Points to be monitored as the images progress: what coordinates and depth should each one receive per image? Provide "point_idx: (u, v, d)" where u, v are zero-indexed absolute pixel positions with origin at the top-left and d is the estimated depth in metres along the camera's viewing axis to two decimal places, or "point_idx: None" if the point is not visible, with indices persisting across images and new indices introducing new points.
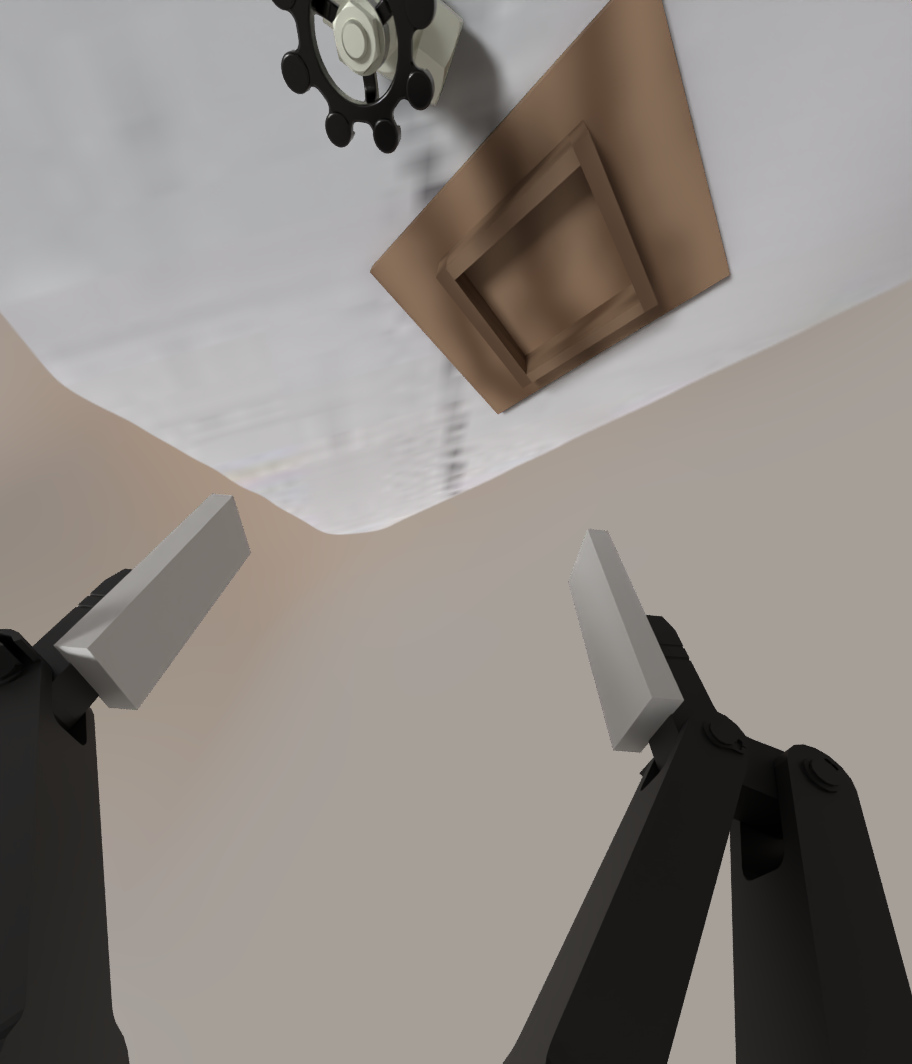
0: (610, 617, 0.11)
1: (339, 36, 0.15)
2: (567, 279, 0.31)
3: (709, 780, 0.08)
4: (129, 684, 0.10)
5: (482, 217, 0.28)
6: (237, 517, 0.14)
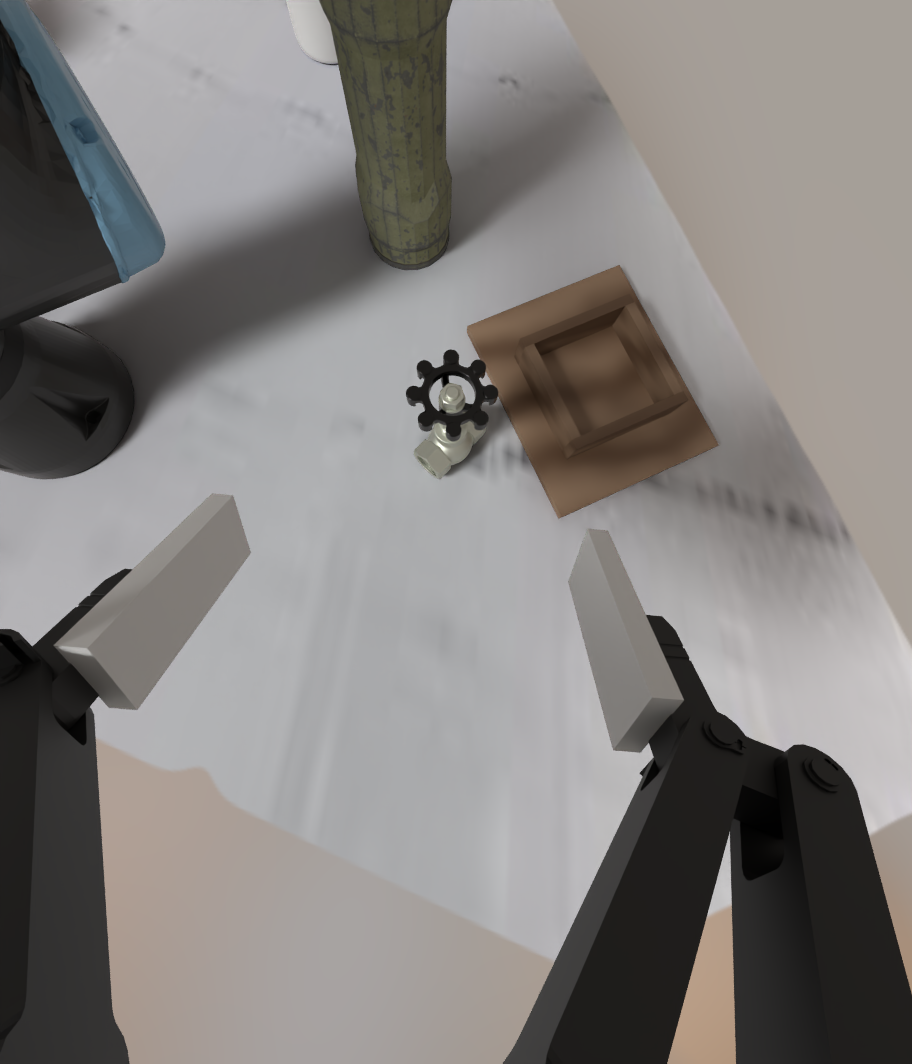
0: (610, 617, 0.11)
1: (448, 400, 0.28)
2: (599, 370, 0.40)
3: (709, 780, 0.08)
4: (129, 684, 0.10)
5: (546, 422, 0.39)
6: (237, 517, 0.14)
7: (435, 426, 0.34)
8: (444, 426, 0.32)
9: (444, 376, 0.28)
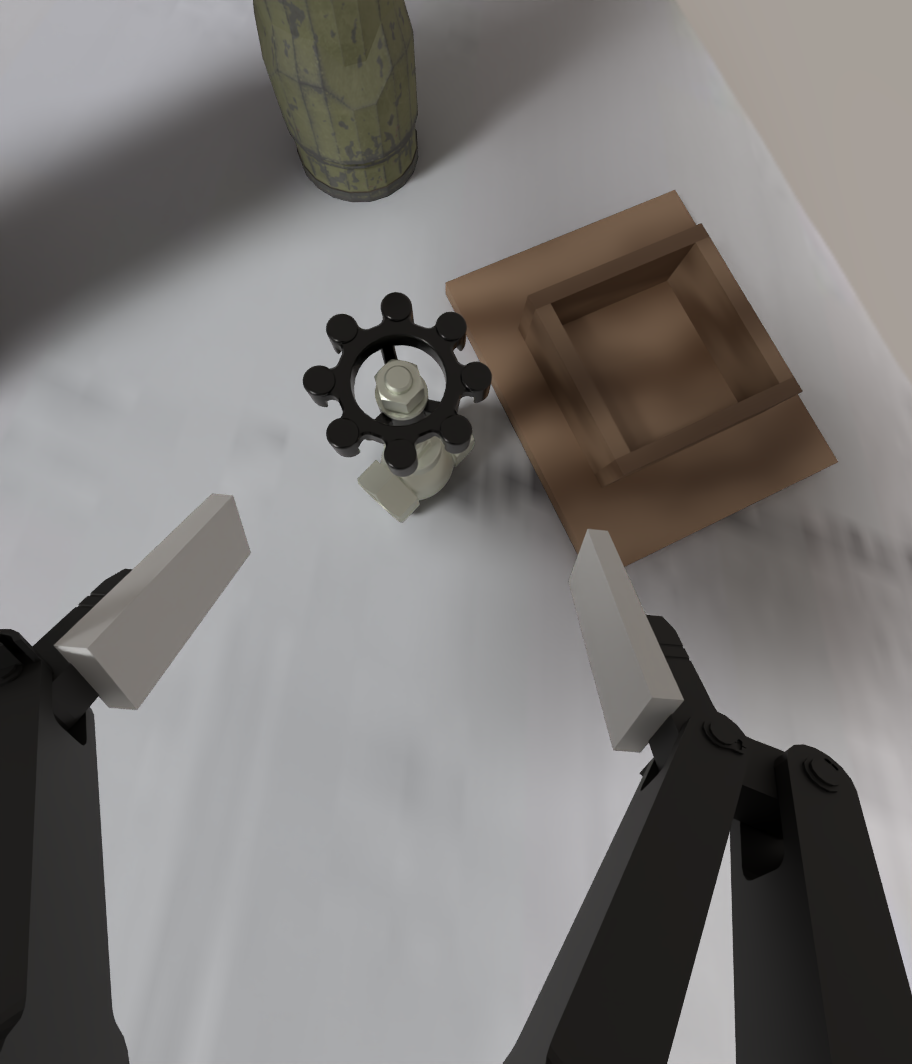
0: (610, 617, 0.11)
1: (391, 394, 0.14)
2: (650, 347, 0.26)
3: (709, 780, 0.08)
4: (129, 684, 0.10)
5: (570, 429, 0.25)
6: (237, 517, 0.14)
7: None
8: None
9: (384, 348, 0.14)
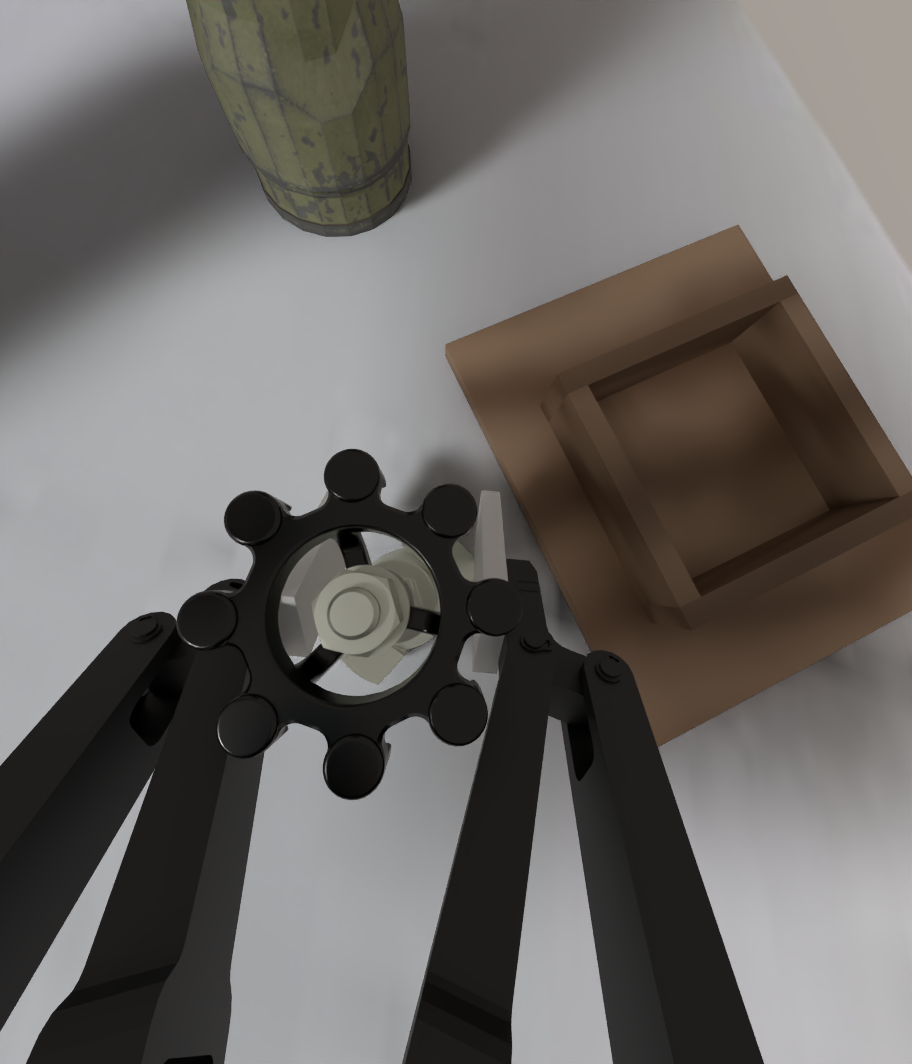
0: (480, 560, 0.13)
1: (339, 641, 0.07)
2: (711, 431, 0.20)
3: (529, 681, 0.09)
4: (307, 633, 0.12)
5: (609, 542, 0.19)
6: None
7: None
8: None
9: (334, 536, 0.08)
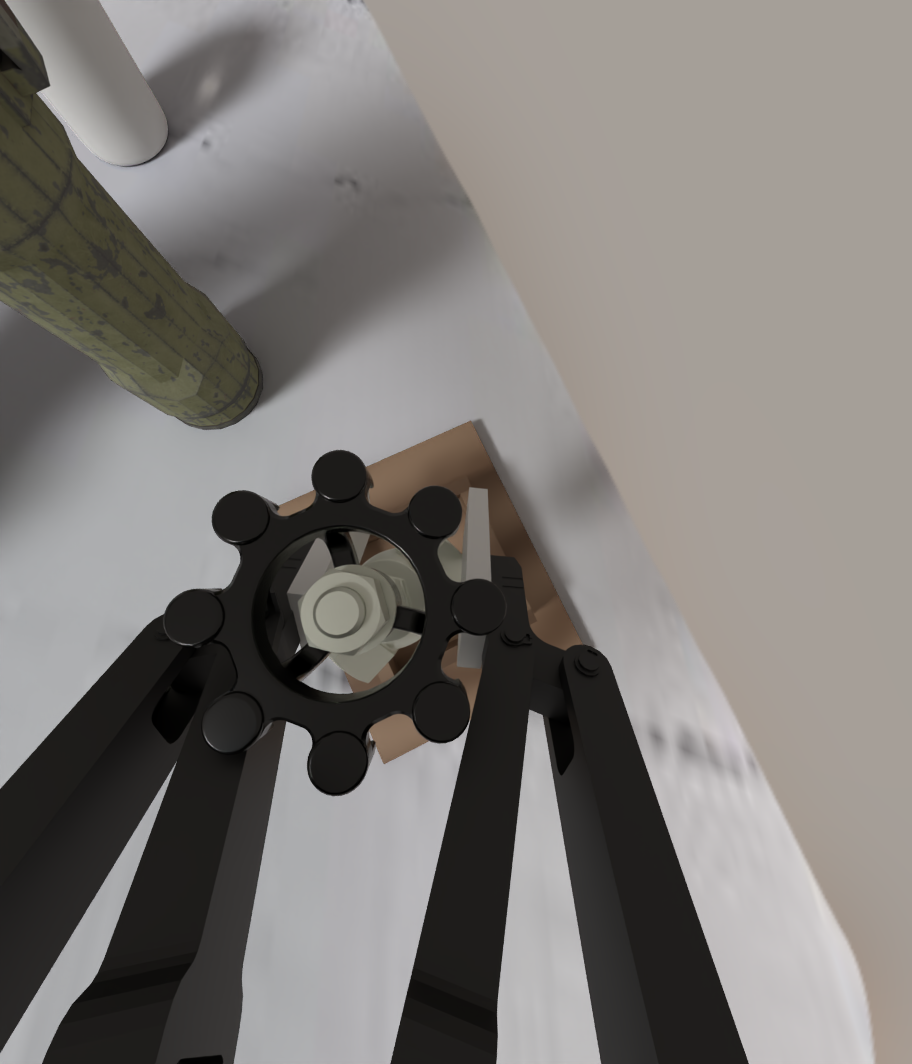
0: (465, 556, 0.13)
1: (325, 639, 0.08)
2: None
3: (510, 676, 0.09)
4: None
5: None
6: (368, 497, 0.16)
7: None
8: None
9: (321, 536, 0.08)
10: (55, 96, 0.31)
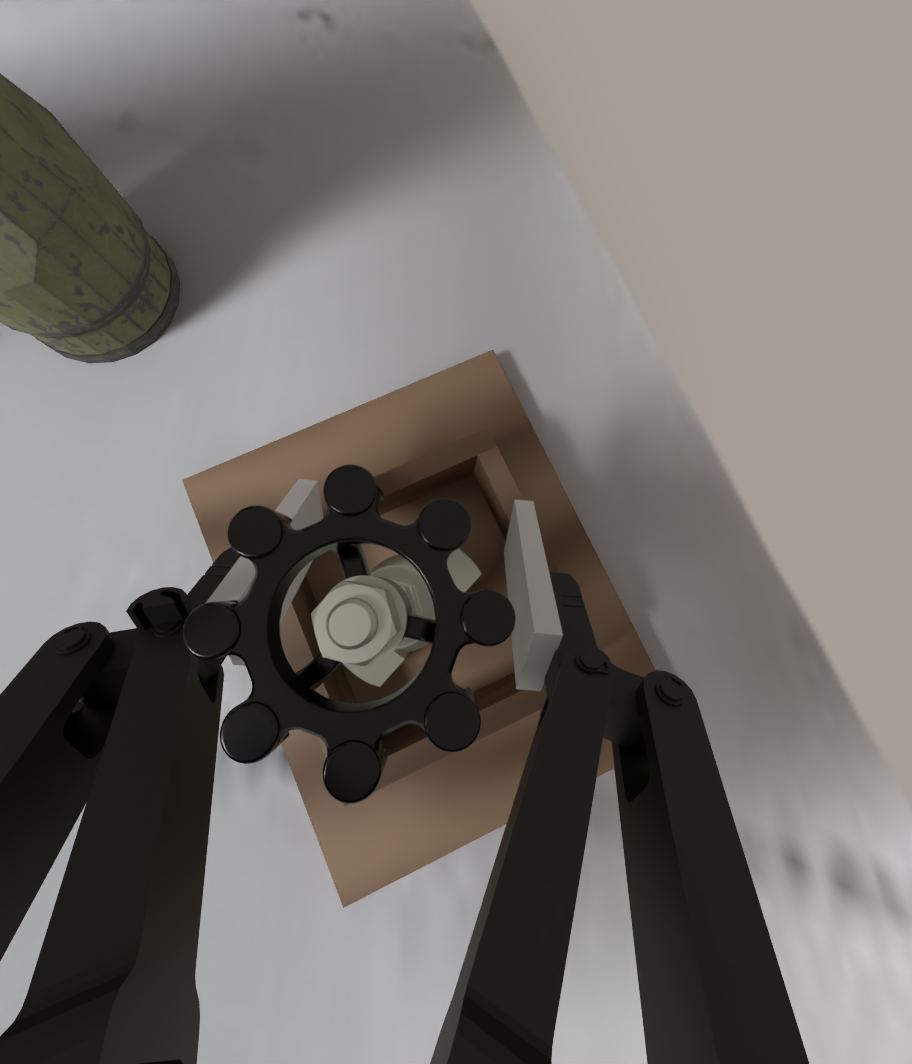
0: (520, 573, 0.13)
1: (338, 650, 0.08)
2: None
3: (584, 703, 0.09)
4: None
5: None
6: (319, 500, 0.16)
7: None
8: None
9: (333, 548, 0.09)
10: None
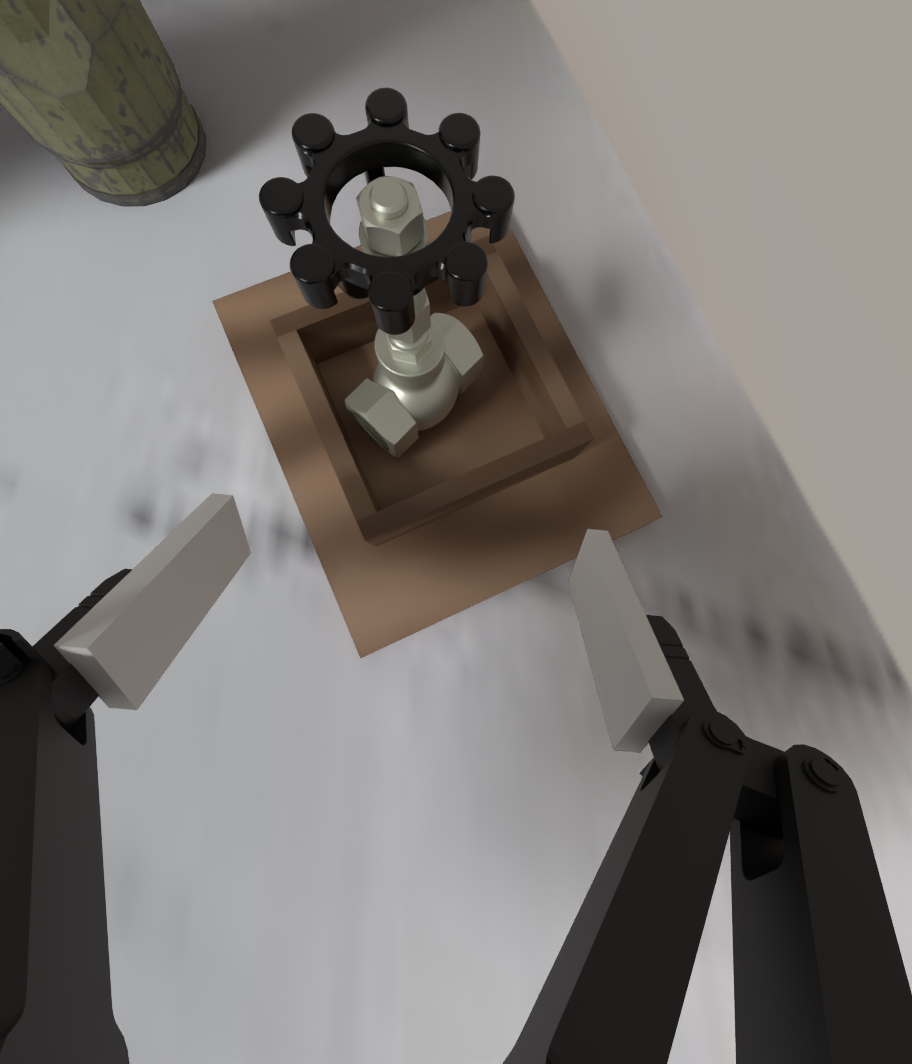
0: (610, 617, 0.11)
1: (378, 217, 0.10)
2: None
3: (709, 780, 0.08)
4: (129, 684, 0.10)
5: None
6: (237, 517, 0.14)
7: (377, 341, 0.16)
8: None
9: (370, 170, 0.11)
10: None
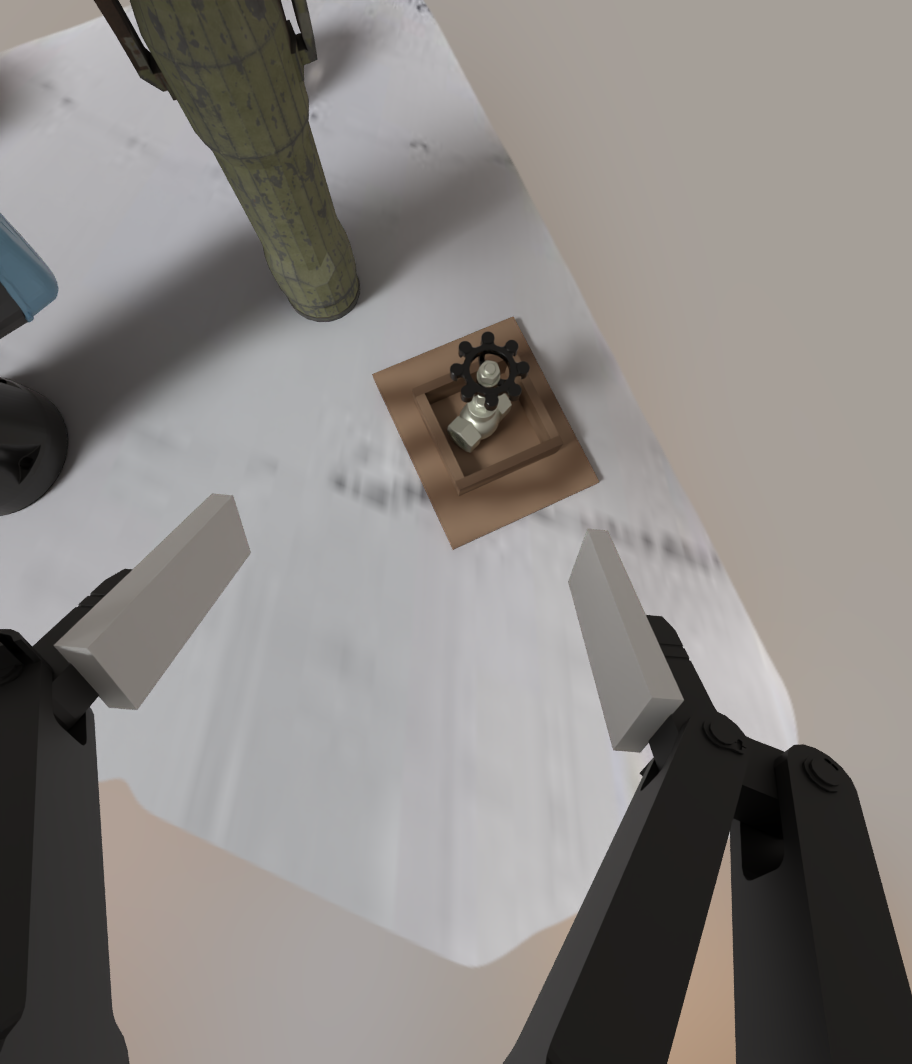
0: (610, 617, 0.11)
1: (486, 375, 0.32)
2: None
3: (709, 780, 0.08)
4: (129, 684, 0.10)
5: (442, 462, 0.43)
6: (237, 517, 0.14)
7: (469, 402, 0.38)
8: (478, 401, 0.36)
9: (481, 355, 0.33)
10: None
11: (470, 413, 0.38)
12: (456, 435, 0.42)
